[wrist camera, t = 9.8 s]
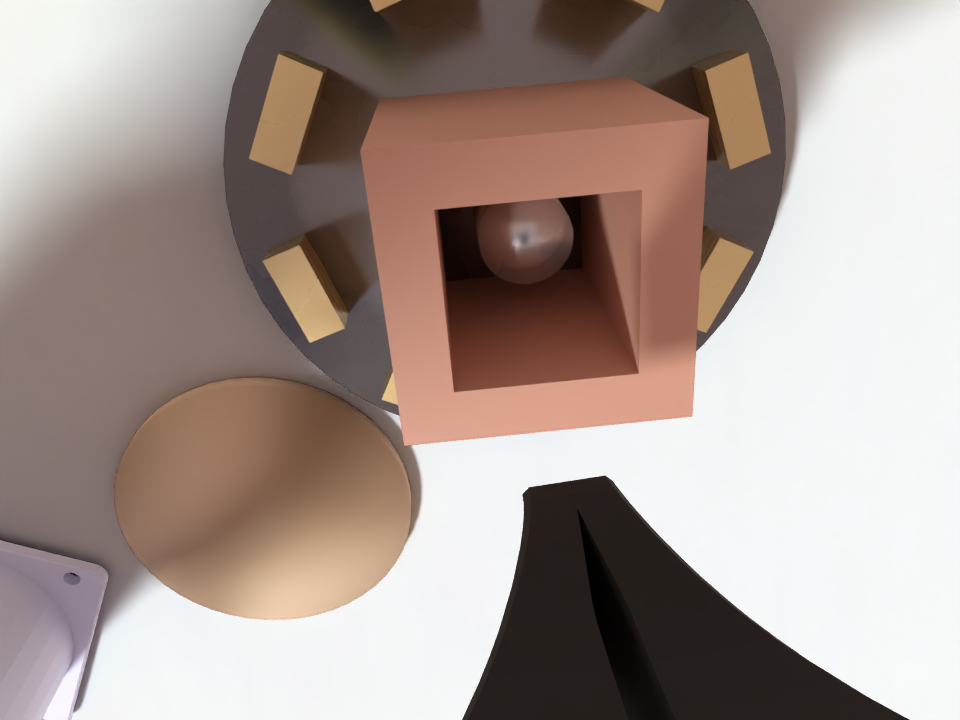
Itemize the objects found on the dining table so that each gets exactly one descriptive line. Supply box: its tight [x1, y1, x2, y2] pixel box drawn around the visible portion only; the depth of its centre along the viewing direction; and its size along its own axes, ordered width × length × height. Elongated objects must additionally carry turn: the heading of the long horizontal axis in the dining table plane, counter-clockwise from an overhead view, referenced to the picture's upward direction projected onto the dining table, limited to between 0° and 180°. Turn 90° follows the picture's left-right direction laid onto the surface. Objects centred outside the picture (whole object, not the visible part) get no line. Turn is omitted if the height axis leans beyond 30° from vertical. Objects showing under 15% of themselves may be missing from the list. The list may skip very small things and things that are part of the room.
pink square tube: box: [360, 76, 709, 446], centre depth 16 cm, size 6×6×6 cm
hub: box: [224, 0, 786, 416], centre depth 18 cm, size 14×14×4 cm
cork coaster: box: [114, 377, 411, 620], centre depth 24 cm, size 9×9×1 cm
